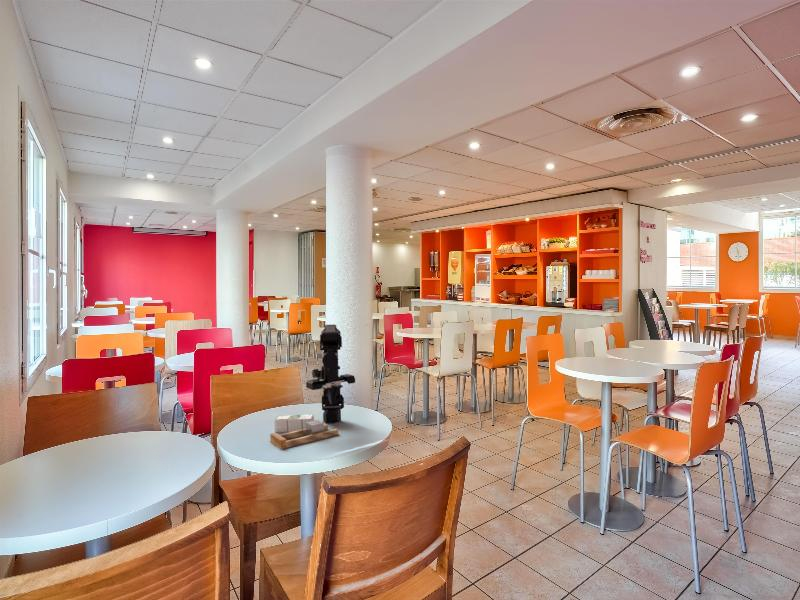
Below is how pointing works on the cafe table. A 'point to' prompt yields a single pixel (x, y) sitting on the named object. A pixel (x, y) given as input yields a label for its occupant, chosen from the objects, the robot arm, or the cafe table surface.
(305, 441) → the brown shallow tray
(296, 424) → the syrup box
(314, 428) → the grey pink cube
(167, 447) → the cafe table surface
